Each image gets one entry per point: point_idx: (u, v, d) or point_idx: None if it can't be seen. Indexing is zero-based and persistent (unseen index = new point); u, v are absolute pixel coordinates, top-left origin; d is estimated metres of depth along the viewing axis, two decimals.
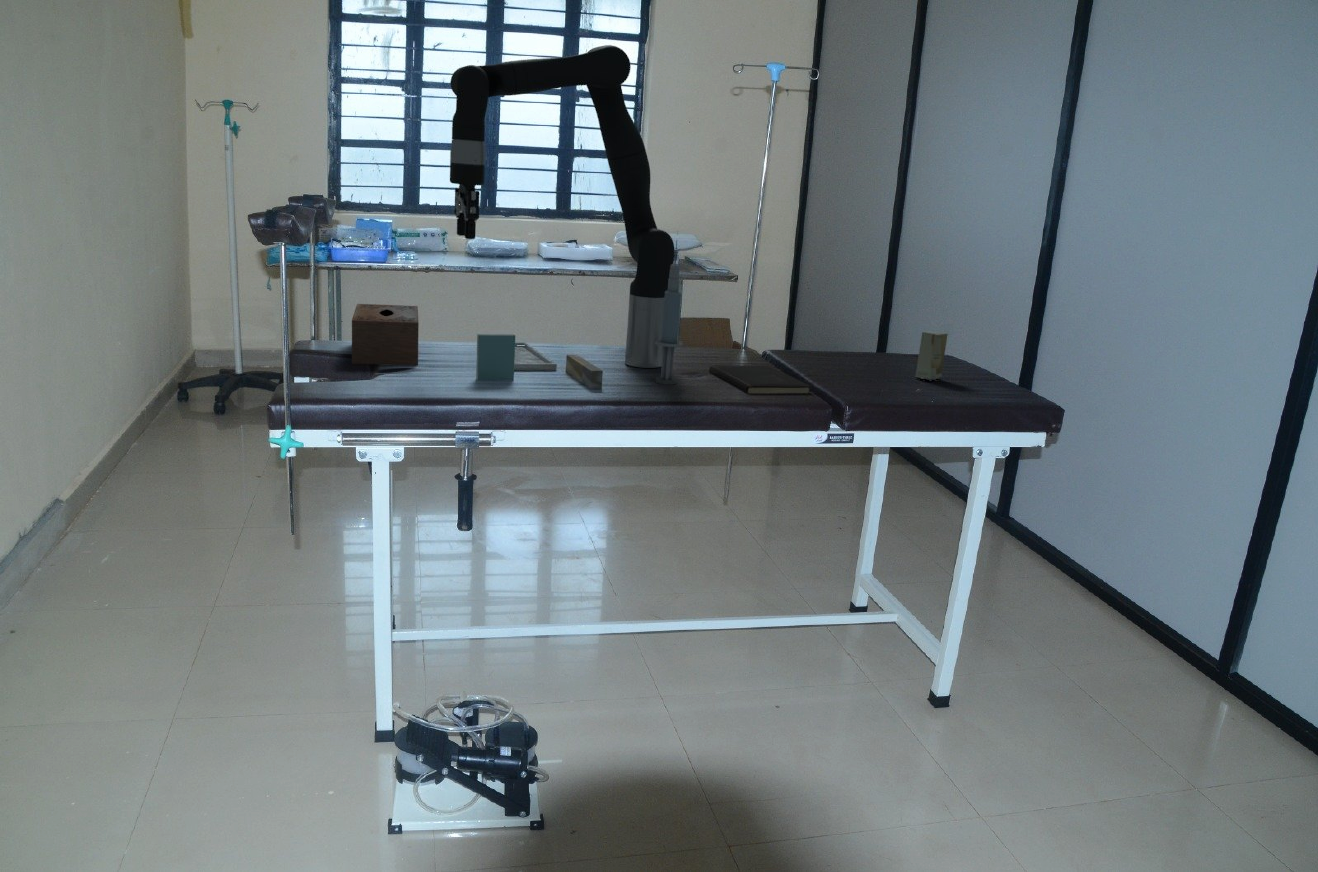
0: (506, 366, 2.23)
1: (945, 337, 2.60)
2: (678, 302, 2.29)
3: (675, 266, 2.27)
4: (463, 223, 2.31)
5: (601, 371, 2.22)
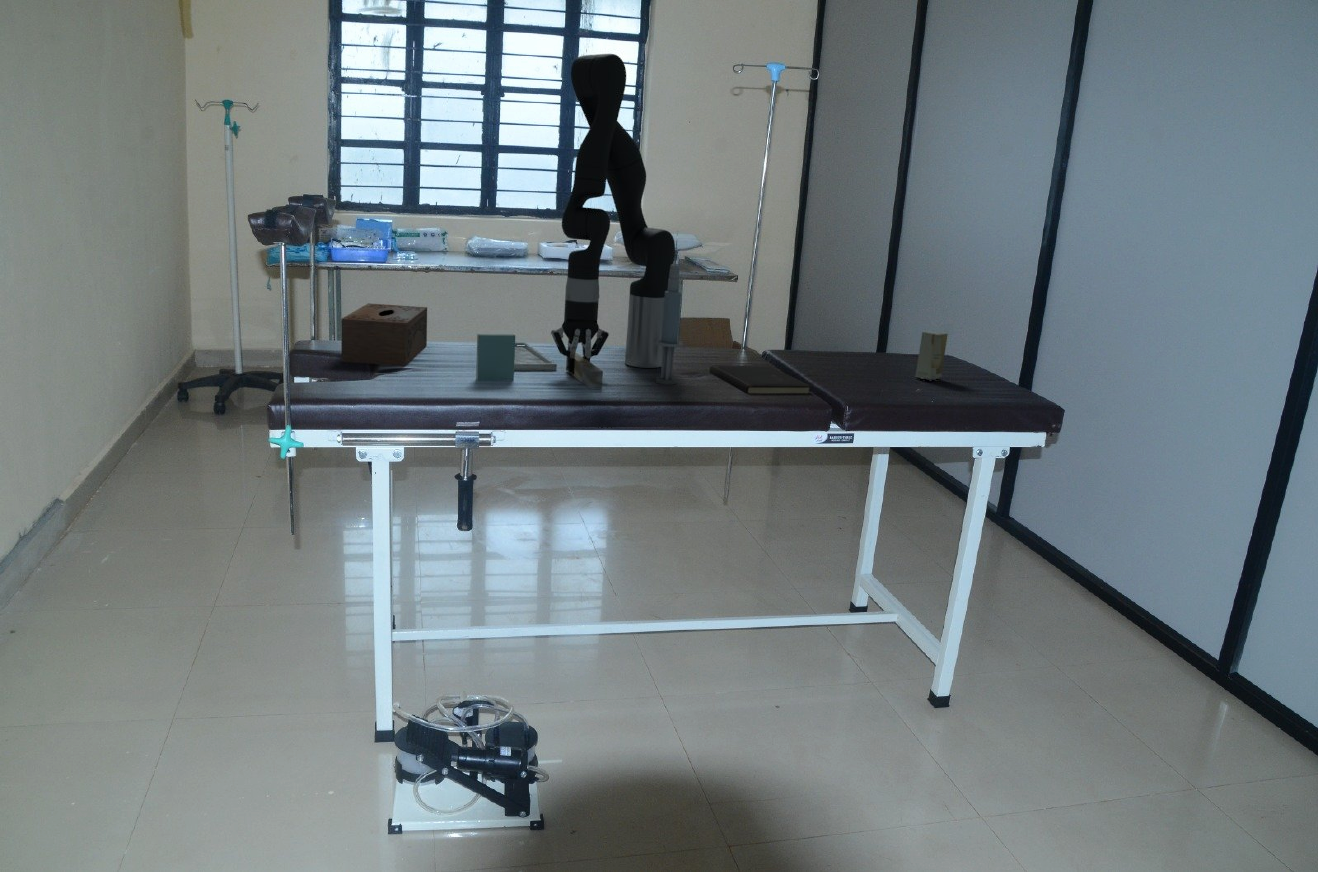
0: (506, 366, 2.23)
1: (945, 337, 2.60)
2: (678, 302, 2.29)
3: (675, 266, 2.27)
4: None
5: (601, 372, 2.22)
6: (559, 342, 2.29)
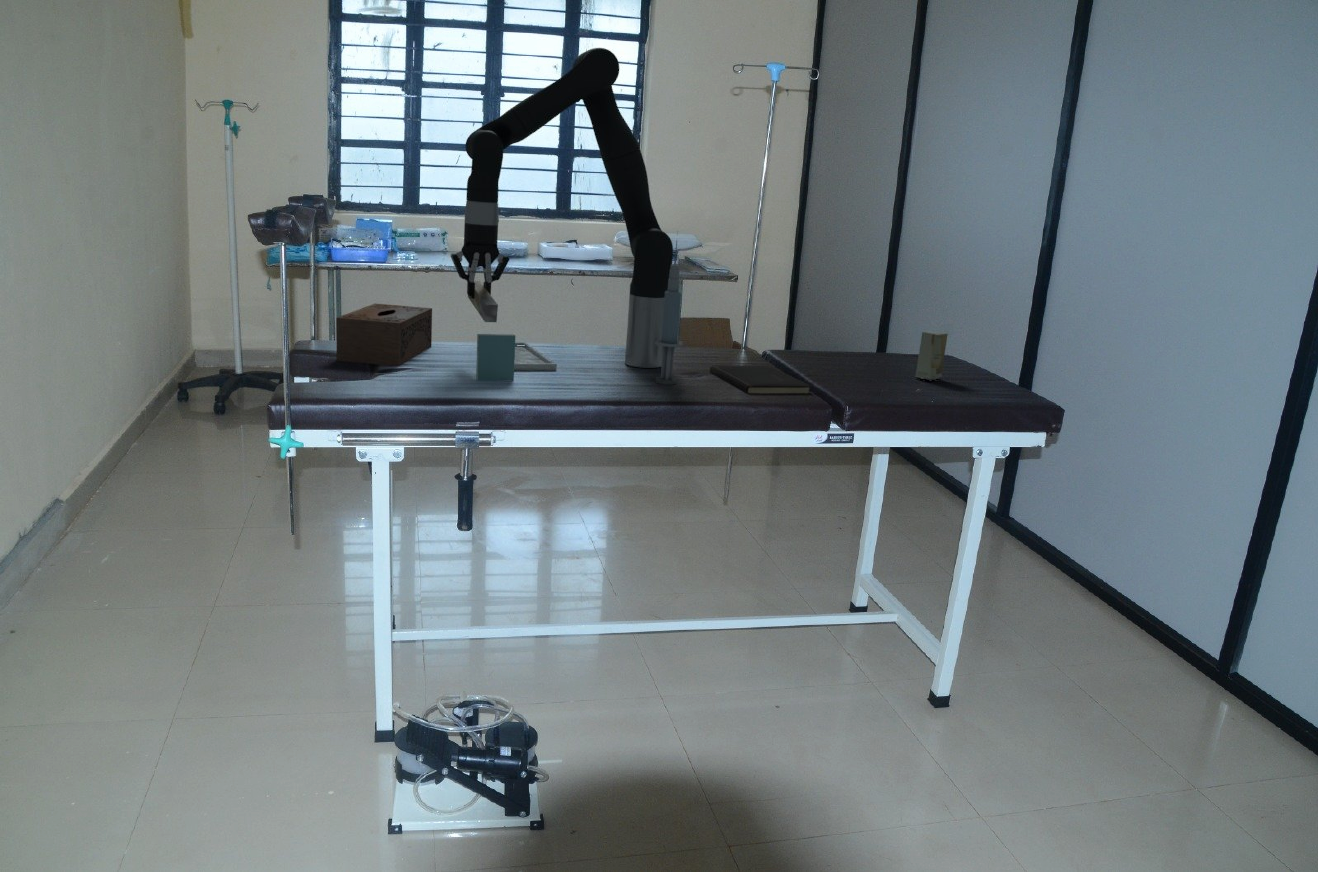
0: (506, 366, 2.23)
1: (945, 337, 2.60)
2: (678, 302, 2.29)
3: (675, 266, 2.27)
4: None
5: (496, 305, 2.25)
6: (458, 265, 2.30)
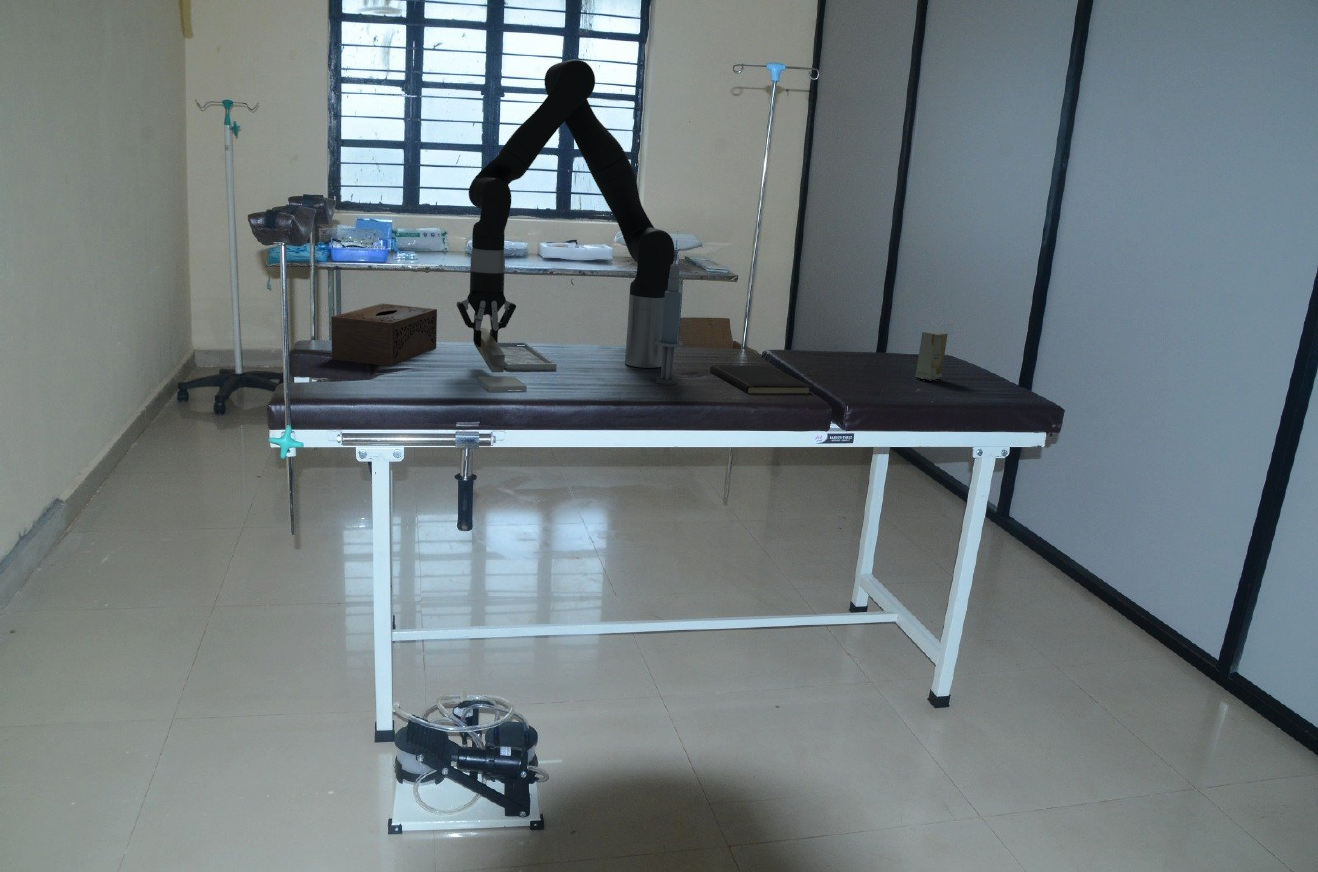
0: None
1: (945, 337, 2.60)
2: (678, 302, 2.29)
3: (675, 266, 2.27)
4: None
5: (503, 355, 2.20)
6: (464, 314, 2.26)
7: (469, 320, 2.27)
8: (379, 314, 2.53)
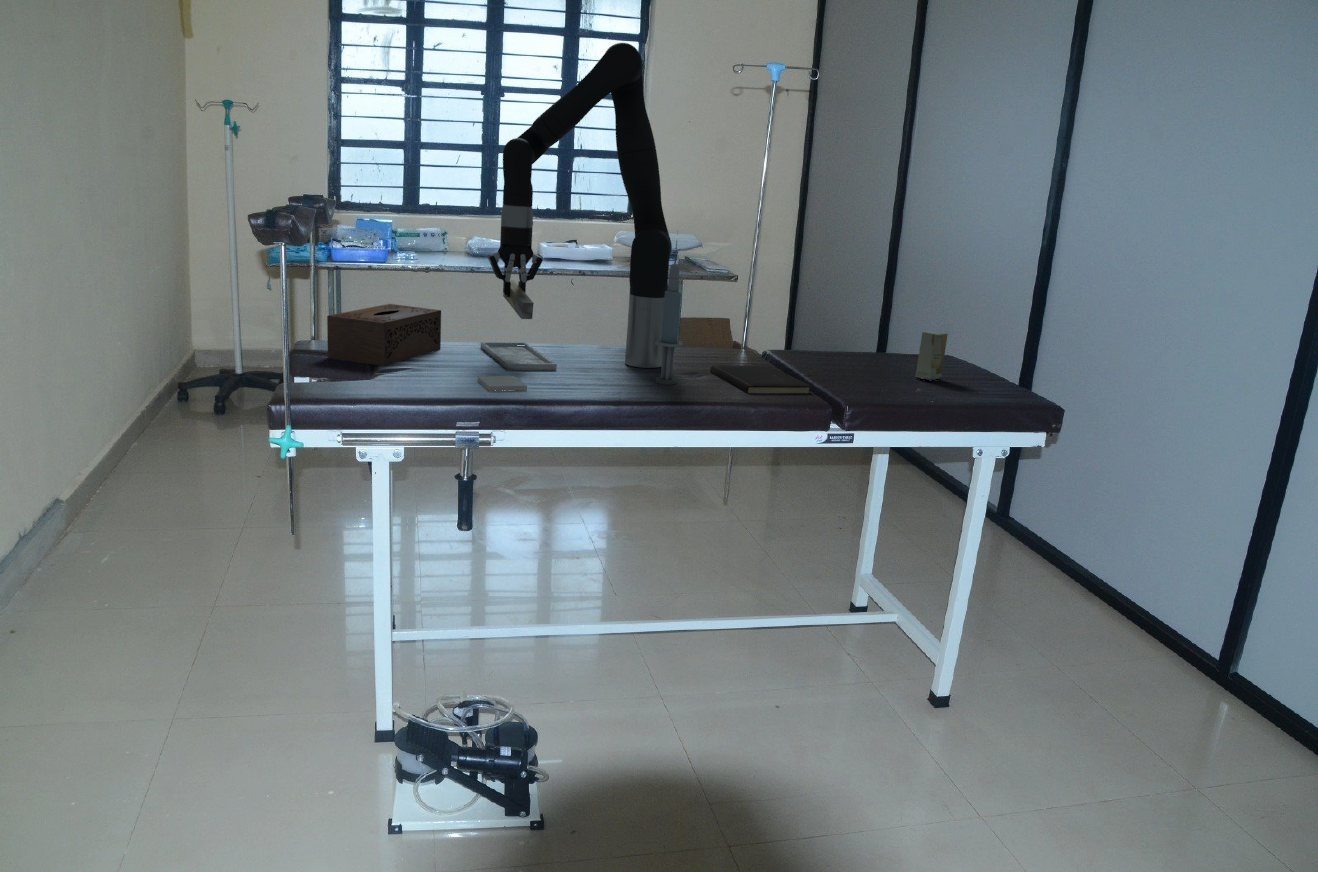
0: None
1: (945, 337, 2.60)
2: (678, 302, 2.29)
3: (675, 266, 2.27)
4: None
5: (532, 303, 2.38)
6: (495, 266, 2.44)
7: (499, 272, 2.45)
8: (386, 314, 2.54)
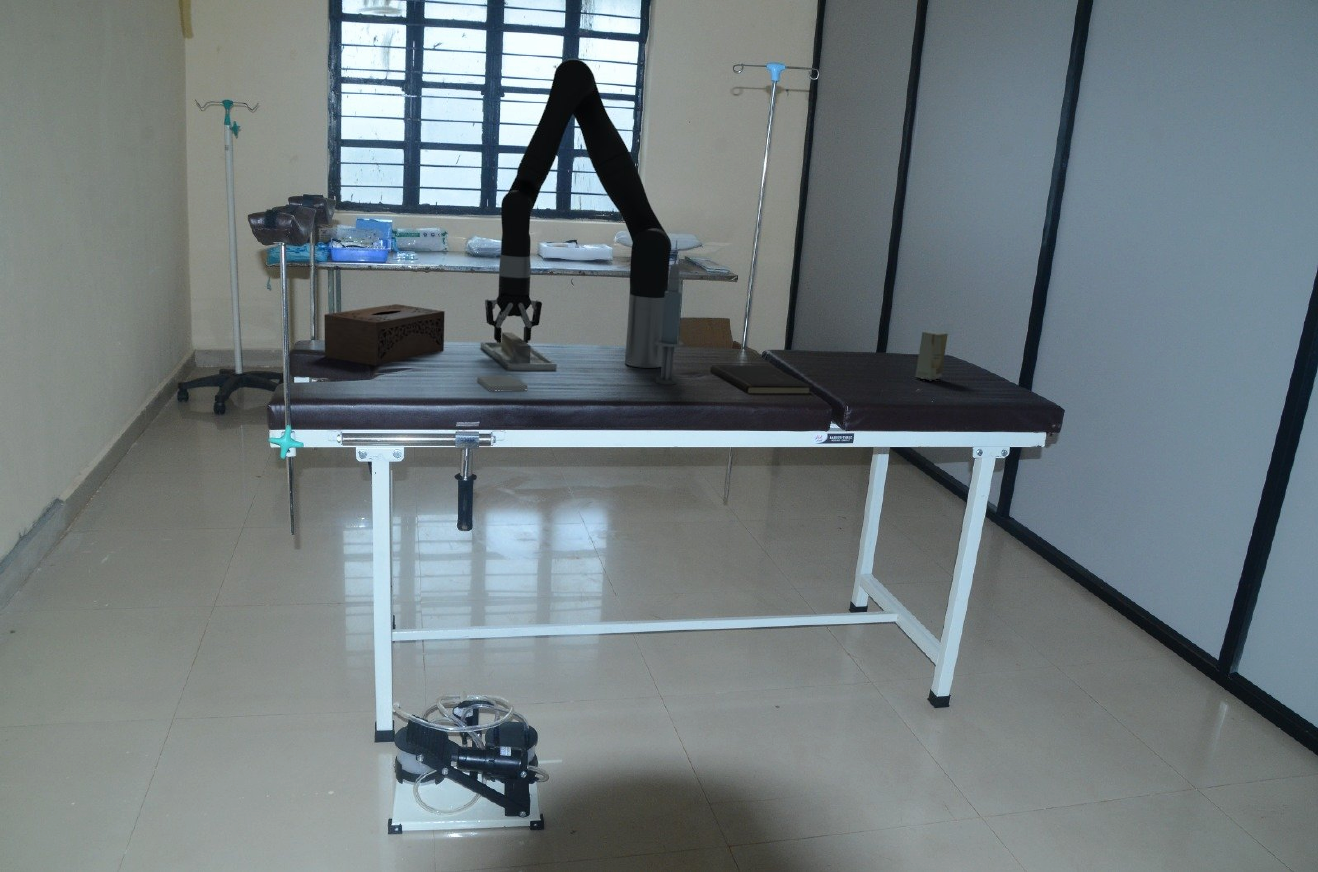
0: None
1: (945, 337, 2.60)
2: (678, 302, 2.29)
3: (675, 266, 2.27)
4: None
5: (529, 346, 2.41)
6: (489, 311, 2.47)
7: (492, 318, 2.47)
8: (392, 314, 2.54)
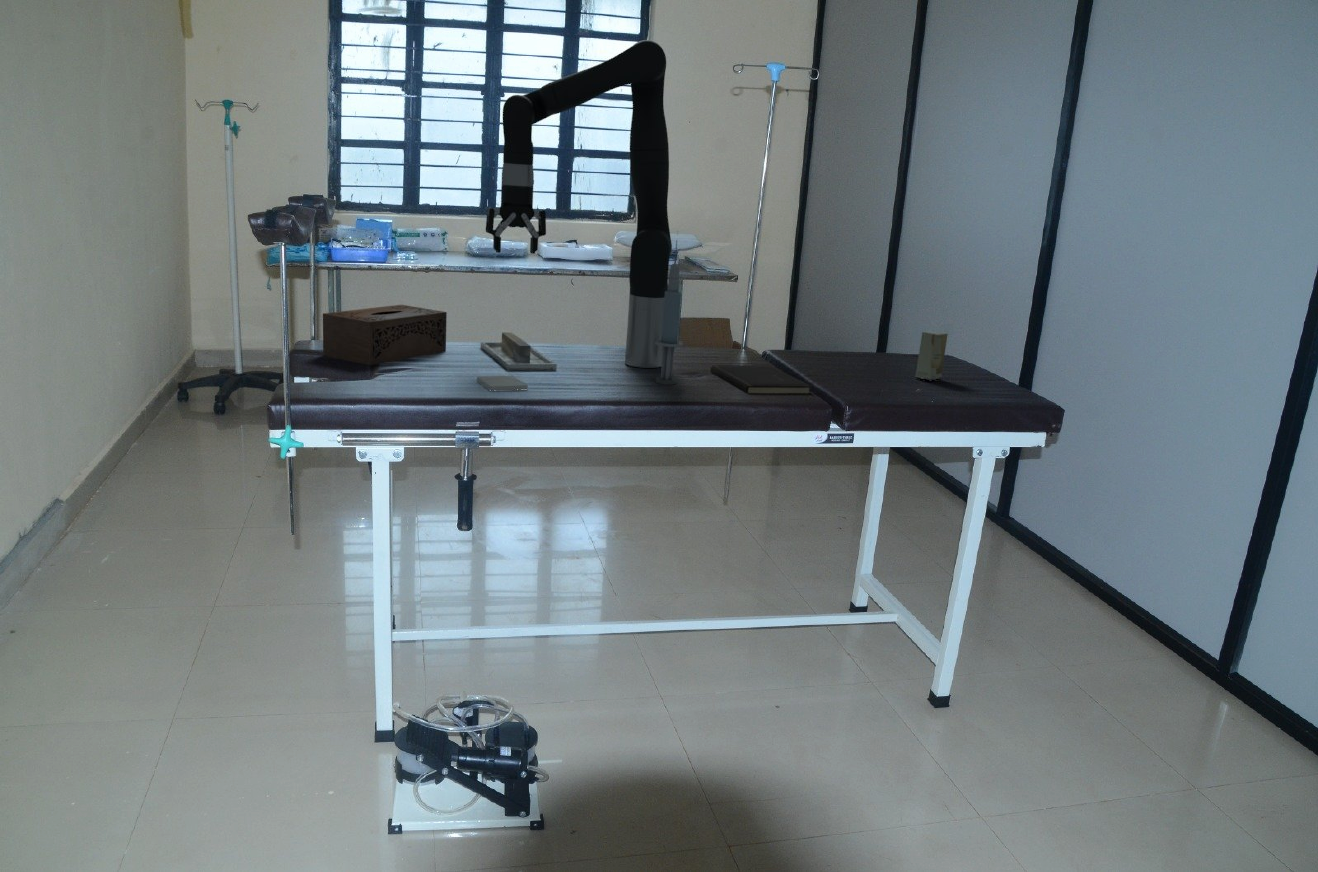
0: None
1: (945, 337, 2.60)
2: (678, 302, 2.29)
3: (675, 266, 2.27)
4: None
5: (529, 346, 2.41)
6: (490, 218, 2.41)
7: (492, 226, 2.41)
8: None
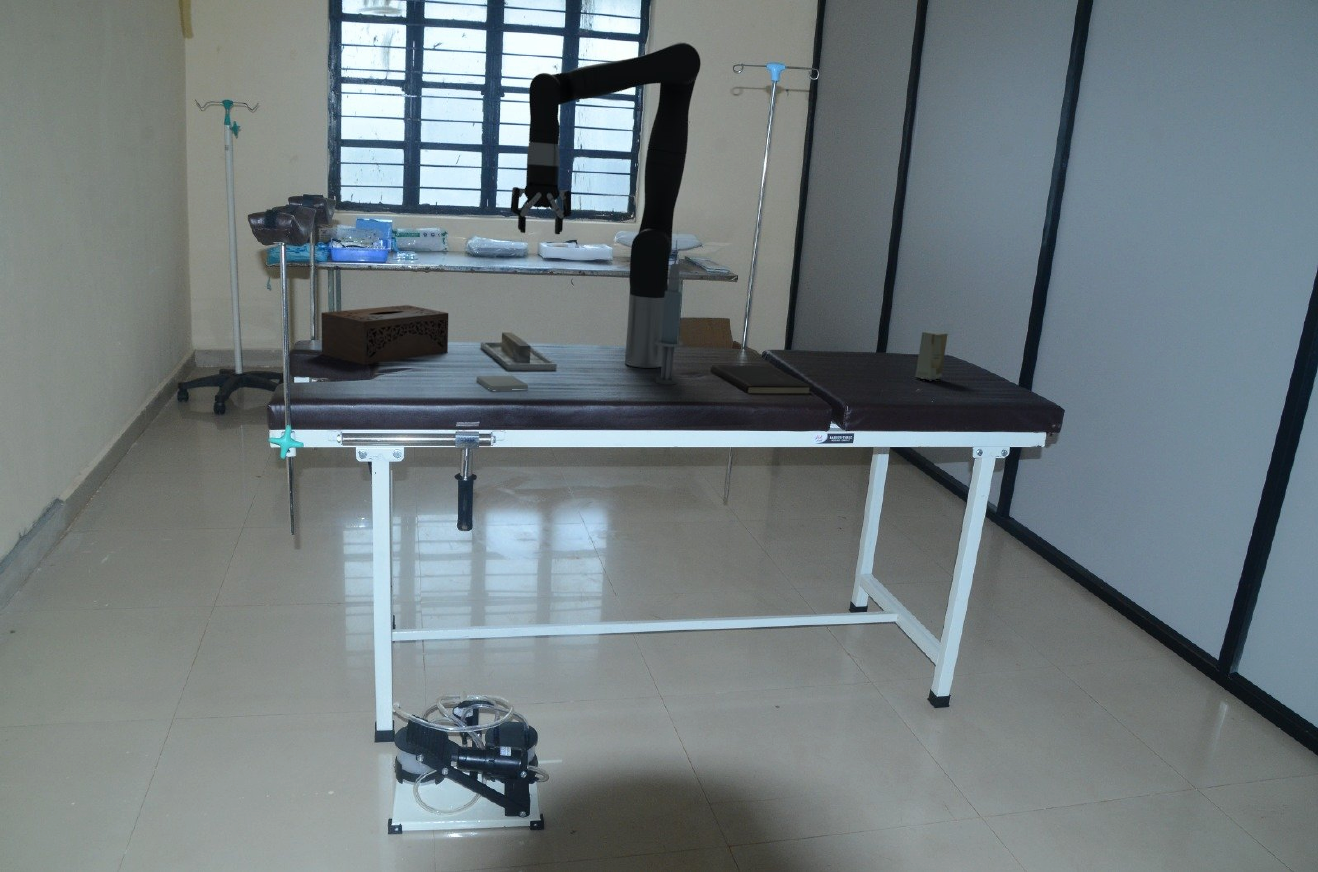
0: None
1: (945, 337, 2.60)
2: (678, 302, 2.29)
3: (675, 266, 2.27)
4: None
5: (529, 346, 2.41)
6: (515, 198, 2.39)
7: (517, 206, 2.39)
8: None
